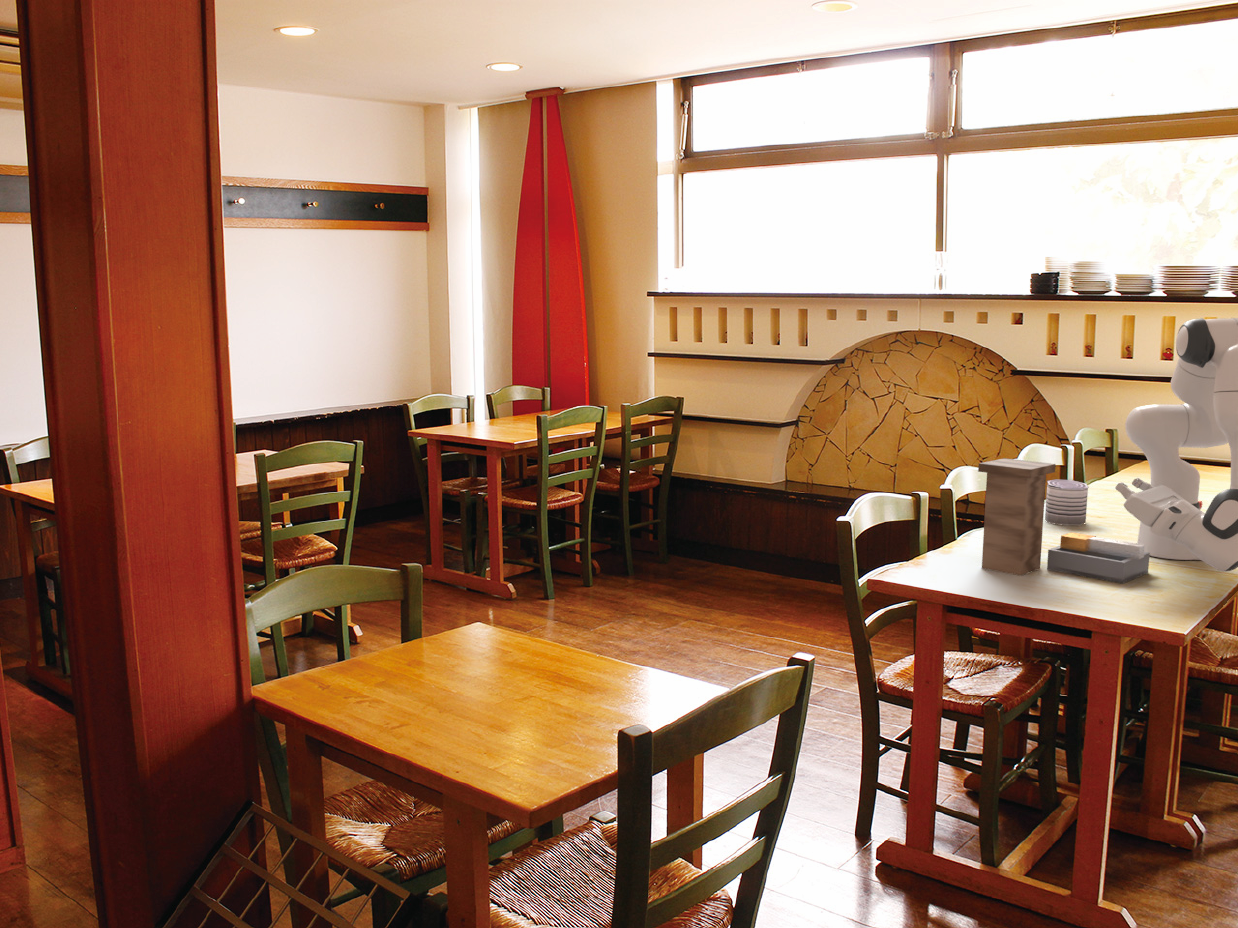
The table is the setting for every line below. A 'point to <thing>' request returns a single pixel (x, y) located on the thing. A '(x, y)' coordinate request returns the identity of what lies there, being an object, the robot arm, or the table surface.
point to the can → (1066, 502)
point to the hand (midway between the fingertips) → (1126, 482)
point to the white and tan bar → (1101, 545)
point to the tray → (1097, 565)
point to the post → (1014, 514)
